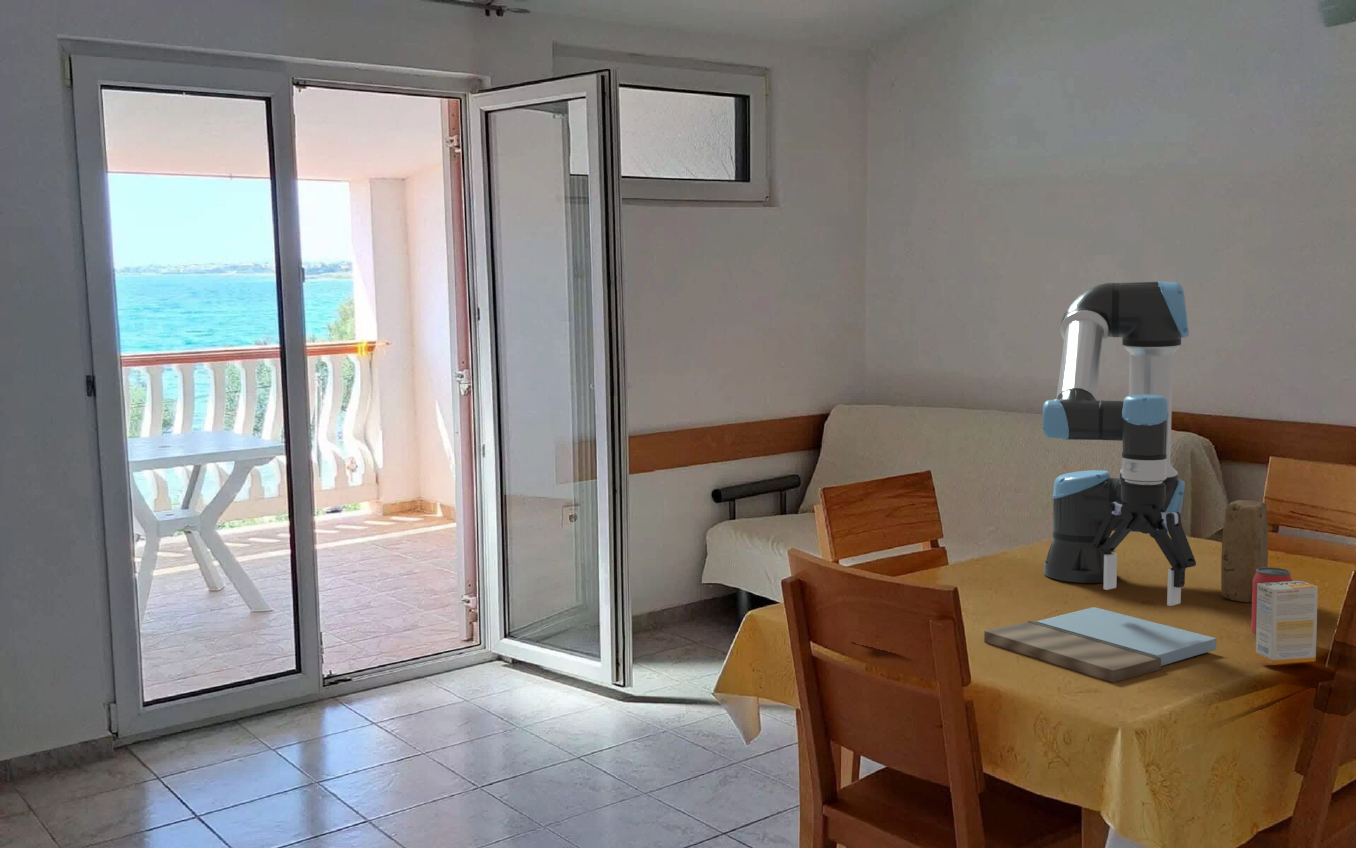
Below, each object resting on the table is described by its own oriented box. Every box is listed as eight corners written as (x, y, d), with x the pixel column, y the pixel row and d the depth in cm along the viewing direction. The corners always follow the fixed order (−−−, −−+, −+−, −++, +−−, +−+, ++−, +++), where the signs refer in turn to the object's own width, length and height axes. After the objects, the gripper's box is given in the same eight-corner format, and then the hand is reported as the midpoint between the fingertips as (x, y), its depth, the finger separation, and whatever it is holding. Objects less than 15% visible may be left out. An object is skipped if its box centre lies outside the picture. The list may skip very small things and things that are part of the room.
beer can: (1289, 641, 209) (1292, 576, 208) (1249, 637, 213) (1251, 572, 211) (1292, 633, 215) (1295, 568, 213) (1253, 628, 218) (1255, 565, 217)
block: (1256, 605, 234) (1260, 507, 232) (1217, 600, 239) (1220, 503, 237) (1270, 595, 242) (1274, 499, 240) (1232, 590, 247) (1235, 496, 245)
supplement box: (1298, 654, 202) (1301, 579, 200) (1316, 662, 197) (1319, 586, 196) (1253, 656, 201) (1256, 581, 199) (1270, 665, 196) (1273, 588, 195)
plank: (1036, 631, 218) (1036, 621, 217) (1093, 617, 226) (1093, 607, 226) (1156, 667, 195) (1157, 655, 195) (1216, 649, 204) (1216, 638, 203)
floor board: (984, 641, 212) (984, 630, 212) (1030, 631, 218) (1030, 620, 218) (1112, 682, 188) (1113, 670, 188) (1160, 669, 194) (1161, 657, 194)
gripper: (1073, 474, 219) (1071, 585, 221) (1192, 492, 198) (1188, 615, 200) (1100, 470, 223) (1098, 579, 225) (1219, 488, 201) (1216, 608, 204)
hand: (1140, 596), depth 213 cm, fingers open, 13 cm apart
